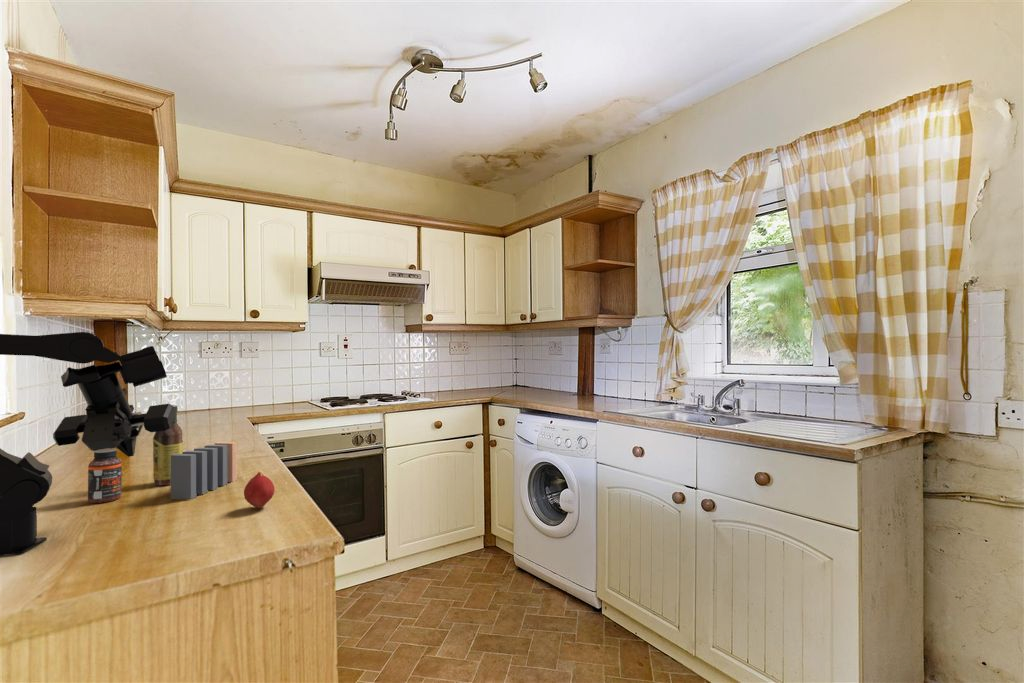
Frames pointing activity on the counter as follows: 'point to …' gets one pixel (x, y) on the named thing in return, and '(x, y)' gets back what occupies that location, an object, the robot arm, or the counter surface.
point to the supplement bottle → (104, 476)
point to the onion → (259, 490)
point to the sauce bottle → (166, 451)
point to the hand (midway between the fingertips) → (131, 455)
